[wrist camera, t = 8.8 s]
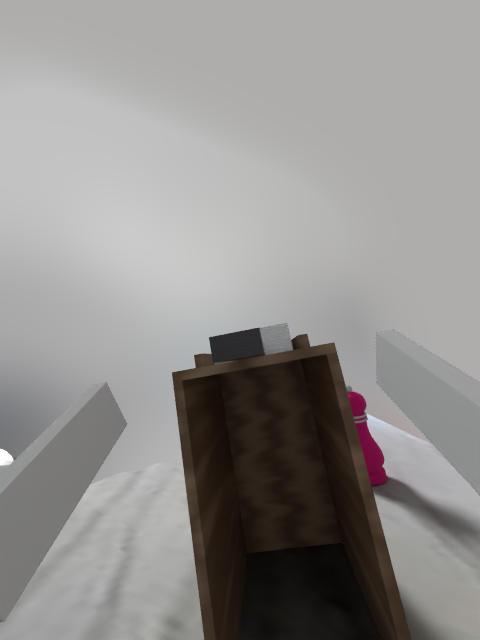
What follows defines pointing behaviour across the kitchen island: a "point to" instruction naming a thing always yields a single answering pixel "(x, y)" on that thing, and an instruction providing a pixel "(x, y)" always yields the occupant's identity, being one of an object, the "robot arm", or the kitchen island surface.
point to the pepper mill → (367, 439)
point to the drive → (250, 343)
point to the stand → (277, 477)
